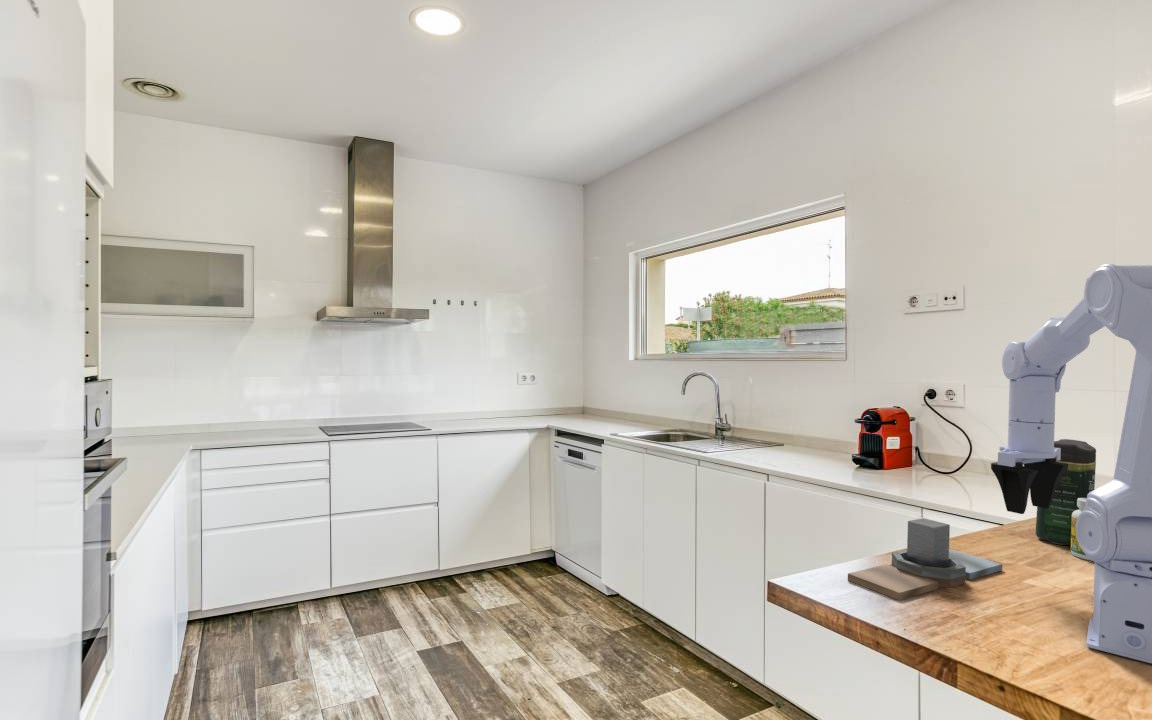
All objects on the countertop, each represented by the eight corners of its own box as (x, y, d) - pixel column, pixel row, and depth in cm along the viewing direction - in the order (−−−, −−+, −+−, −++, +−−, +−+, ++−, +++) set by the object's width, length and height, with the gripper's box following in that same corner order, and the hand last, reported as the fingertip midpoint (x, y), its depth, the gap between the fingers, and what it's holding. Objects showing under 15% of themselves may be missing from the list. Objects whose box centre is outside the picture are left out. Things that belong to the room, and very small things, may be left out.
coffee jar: (1085, 551, 106) (1088, 444, 106) (1030, 539, 112) (1033, 438, 112) (1098, 541, 112) (1101, 440, 112) (1045, 531, 119) (1048, 435, 118)
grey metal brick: (932, 582, 90) (934, 527, 90) (906, 573, 94) (907, 521, 93) (948, 577, 92) (949, 524, 92) (922, 569, 95) (923, 518, 95)
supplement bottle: (1110, 565, 99) (1112, 506, 99) (1068, 557, 103) (1070, 500, 103) (1112, 557, 103) (1114, 500, 103) (1072, 550, 107) (1073, 495, 107)
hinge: (902, 601, 82) (903, 583, 82) (844, 579, 90) (844, 562, 90) (1005, 571, 95) (1006, 556, 95) (946, 554, 103) (947, 540, 103)
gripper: (1026, 417, 101) (1023, 499, 101) (977, 420, 94) (974, 508, 94) (1077, 421, 95) (1074, 509, 95) (1029, 425, 88) (1026, 519, 88)
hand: (1028, 509), depth 94 cm, fingers open, 7 cm apart
